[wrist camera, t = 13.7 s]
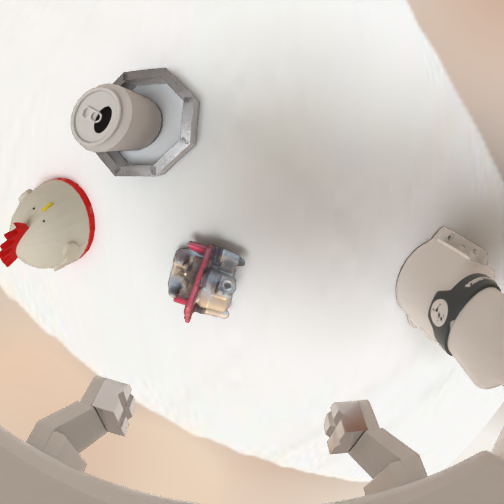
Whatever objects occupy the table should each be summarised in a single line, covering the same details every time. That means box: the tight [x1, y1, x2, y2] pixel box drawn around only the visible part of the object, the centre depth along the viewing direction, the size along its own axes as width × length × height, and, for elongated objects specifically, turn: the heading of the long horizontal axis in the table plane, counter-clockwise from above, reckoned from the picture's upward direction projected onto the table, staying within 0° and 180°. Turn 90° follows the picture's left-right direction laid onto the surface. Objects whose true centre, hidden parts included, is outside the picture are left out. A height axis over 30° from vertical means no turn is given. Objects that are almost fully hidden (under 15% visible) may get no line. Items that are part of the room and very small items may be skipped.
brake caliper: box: [168, 241, 245, 323], centre depth 36 cm, size 11×11×12 cm
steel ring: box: [96, 68, 200, 176], centre depth 30 cm, size 14×14×4 cm
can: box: [71, 84, 162, 152], centre depth 26 cm, size 8×8×12 cm
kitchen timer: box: [0, 178, 95, 271], centre depth 29 cm, size 14×14×15 cm
